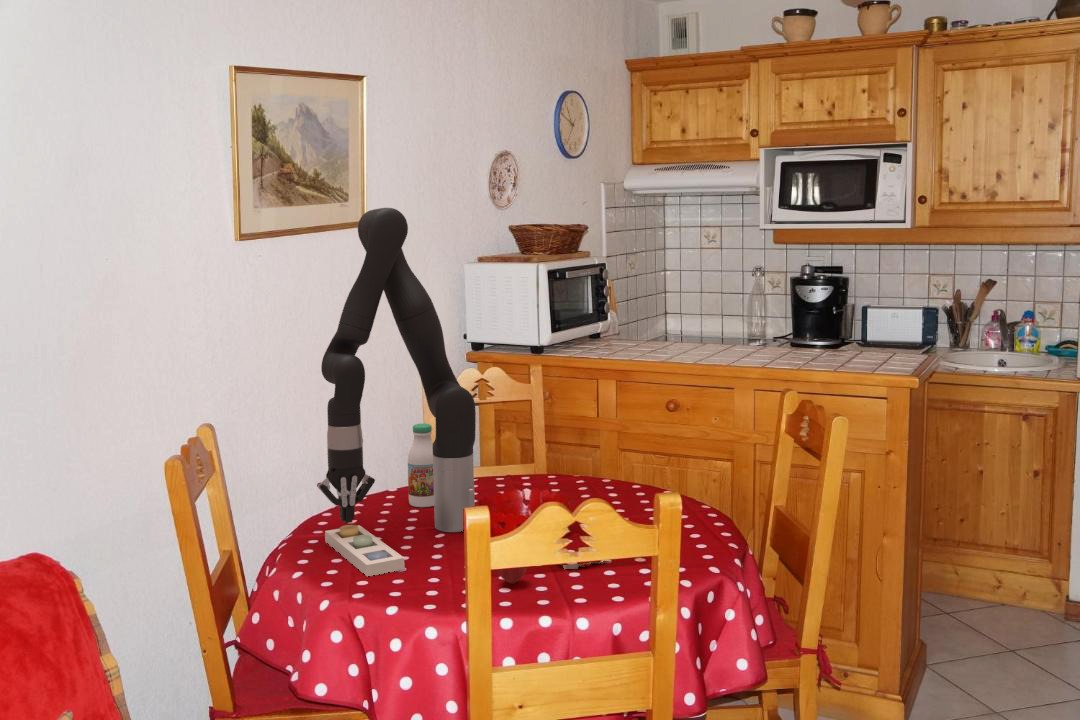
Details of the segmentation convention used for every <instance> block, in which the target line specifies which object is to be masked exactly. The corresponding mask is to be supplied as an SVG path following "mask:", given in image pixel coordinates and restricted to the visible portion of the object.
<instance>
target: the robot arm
mask: <svg viewBox="0 0 1080 720" xmlns="http://www.w3.org/2000/svg"><path fill="white" fill-rule="evenodd" d="M408 225H409V224H408V221H407V218H406V217H405V215H404V214H403V213H402V212H401V211H400V210H398V209H396V208H394V207H393V208H392V207H380V208H375V209H371V210H368V211H366V212H364V214H362V215H361V217H360V218H359V220H358V224H357V233H358V235H357V236H358V238H359V241H360V242H361V243H360V244H361V245H362V246H363V249H364V250H365V252H366V253H365V256H364V260H363V264H362V266H361V269H360V271H359V273H358V276H357V278H356V280H355V282H354V283H353V285H352V287H351V289H350V291H349V293H348V295H347V297H346V299H345V302H344V305H343V308H342V312H341V314H340V317H339V322H338V325H337V326H338V327H337V330H336V332H335V334H334V335H333V337H332V339H331V340H330V342H329V344H328V346H327V348H326V350H325V352H324V355H323V357H322V360H321V367H320V368H321V370H320V371H321V375H322V376H323V378H324V380H325V381H327V382H328V383H331V384H333V385H334V394H333V395H334V396H333V397H331V398H330V399H329V400H328V403H327V431H326V445H327V469H328V470H327V471H326V475H325V476H326V477H325V478H324V480H323V481H321V482H318V483H317V484H316V486H317V488H318V490H320V491H321V493H323V495H324V496H325V497H326V498H327V499H328V500H329V501H330V502H331V504H333V505H334V506H339V517H340V518H339V519H340V520H341V521H342V522H343V523H344V524H349V523H353V520H355V516H356V515H355V505H356V504H357V503H362V502H363V500H364V499H365V497H366V495H367V494H368V493H369V492H370V490H371V488H372V487H373V485H374V484H375V481H376V479H375V478H373V476H371V475H368V474H367V473H366V469H365V468H364V450H363V449H364V448H363V446H364V444H363V443H364V439H363V430H362V414H361V413H362V412H361V401H362V398H363V395H364V394H363V393H364V388H365V384H366V383H365V381H366V370H365V365H364V363H363V362H362V360H361V358H359V357H358V356H357V355H356V354H357V352H358V350H359V348H360V347H361V346H364V345H366V344H367V343H368V341H369V339H370V336H371V332H372V329H373V327H374V322H375V319H376V316H377V311H378V308H379V306H380V305H379V304H380V301H381V299H382V295H383V293H384V295H385V298H386V300H387V304H388V305H389V307H390V309H391V313H392V316H393V319H394V321H395V324H396V326H397V328H398V331H399V334H400V336H401V339H402V340H403V343H404V345H405V347H406V349H407V351H408V354H409V356H410V357H411V359H412V361H413V364H414V365H415V368H416V369H417V373H418V375H419V377H420V381H421V385H422V388H423V392H424V395H425V398H426V403H427V406H428V408H429V411H430V413H431V415H432V416H433V417H434V418H435V437H434V438H435V439H434V441H432V442H433V480H434V506H433V507H434V509H433V511H434V528H435V529H436V530H437V531H439V532H444V533H461V531H462V532H464V531H463V509H464V508H465V507H472V506H475V505H476V504H475V478H474V475H475V473H474V471H475V470H474V469H475V468H474V444H475V441H476V428H477V427H476V423H477V422H476V421H477V420H476V403H475V402H476V401H475V399H474V396H473V395H472V393H471V392H470V391H469V390H468V389H467V388H464V387H462V386H461V384H460V383H459V381H458V379H457V378H456V375H455V374H454V370H453V369H452V367H451V364H450V362H449V360H448V357H447V352H446V345H445V337H444V333H443V327H442V325H441V324H442V323H441V321H440V318H439V316H438V313H437V310H436V308H435V307H436V306H434V302H433V301H432V298H431V296H430V295H429V293H428V291H427V290H426V288H425V287H424V285H423V284H422V282H421V281H420V280H419V278H417V275H415V273H414V271H413V270H412V269H411V267H410V266H409V264H408V262H407V259H406V257H405V254H404V251H403V248H402V247H403V245H404V244H405V241H406V239H407V236H408V232H409V226H408ZM360 484H361V485H360ZM331 485H332V487H333V488H334V489H335V490H336V495H337V497H336V496H335V494H333V492H331ZM358 487H359V488H358ZM357 488H358V489H357ZM475 507H476V506H475Z"/></svg>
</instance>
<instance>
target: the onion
mask: <svg viewBox="0 0 1080 720" xmlns="http://www.w3.org/2000/svg"><path fill="white" fill-rule="evenodd" d="M527 568H528V567H527ZM527 568H515V569H505V570H498V569H497V573H498V575H499V577H501V579H503V580H504V581H505V582H507V583H509V584H511V585H514V584H516V583H517V582H518V581H519V580H520V579H522V578H523V576H525V574H526V571H527Z"/></svg>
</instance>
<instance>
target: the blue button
mask: <svg viewBox="0 0 1080 720" xmlns="http://www.w3.org/2000/svg"><path fill="white" fill-rule="evenodd" d="M383 558H388V557H387V553H386V552H382V551H377V552H371V553H369V554H368V559H369V560H370V561H372V560H377V559H383Z"/></svg>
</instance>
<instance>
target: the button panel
mask: <svg viewBox="0 0 1080 720" xmlns="http://www.w3.org/2000/svg"><path fill="white" fill-rule="evenodd" d="M357 526H358V533H359V536H360V535H369V536H372V544H373V546H371V547H365V548H360V549H355V548H354V547H353V538H354V537H356V536H353V537H347V538H341V537H340V528H335V529H330V530H329V529H328V530H325V531H324V539H325V541H324V542H325V543H326V544H327V543H328V544H329V545H328V544H327V545H328V546H329V547H331V548H332V547H333V548H334V549H335V551H336V552H337V553H338V552H339V553H340V554H341V556H342V558H344V559H345V560H346V559H347V560H346V561H348V563H350V564H353V566H354V567H355V568H356V569H357V570H358V569H359V572H361V573H362V574H363V573H364V574H365V575H364V576H366V577H367V578H368V576H370V577H374V576H373V575H375V576H378V575H379V574H380V575H383V574H384V573H385V574H389V573H388V572H390V573H395V572H400V571H404V569H405V557H404V556H403V555H401V554H400V553H398V552H397V551H396V550H394V549H393V548H391V547H390V546H389V545H387V544H386V543H384V541H382V540H381V539H379V538H378V537H377V536H375V535H374V534H372V533H370V532H369V531H368V530H367V529H365V528H364V527H363V526H361V525H359V524H358V525H357ZM333 548H332V549H333ZM334 549H333V550H334ZM377 551H382V552H386V553H387V557H388V558H383V559H377V560H372V561H370V560H369V559H368V554H369V553H371V552H377ZM339 553H338V554H339ZM340 554H339V555H340ZM399 570H400V571H399ZM394 571H395V572H394ZM385 574H384V575H385Z"/></svg>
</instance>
